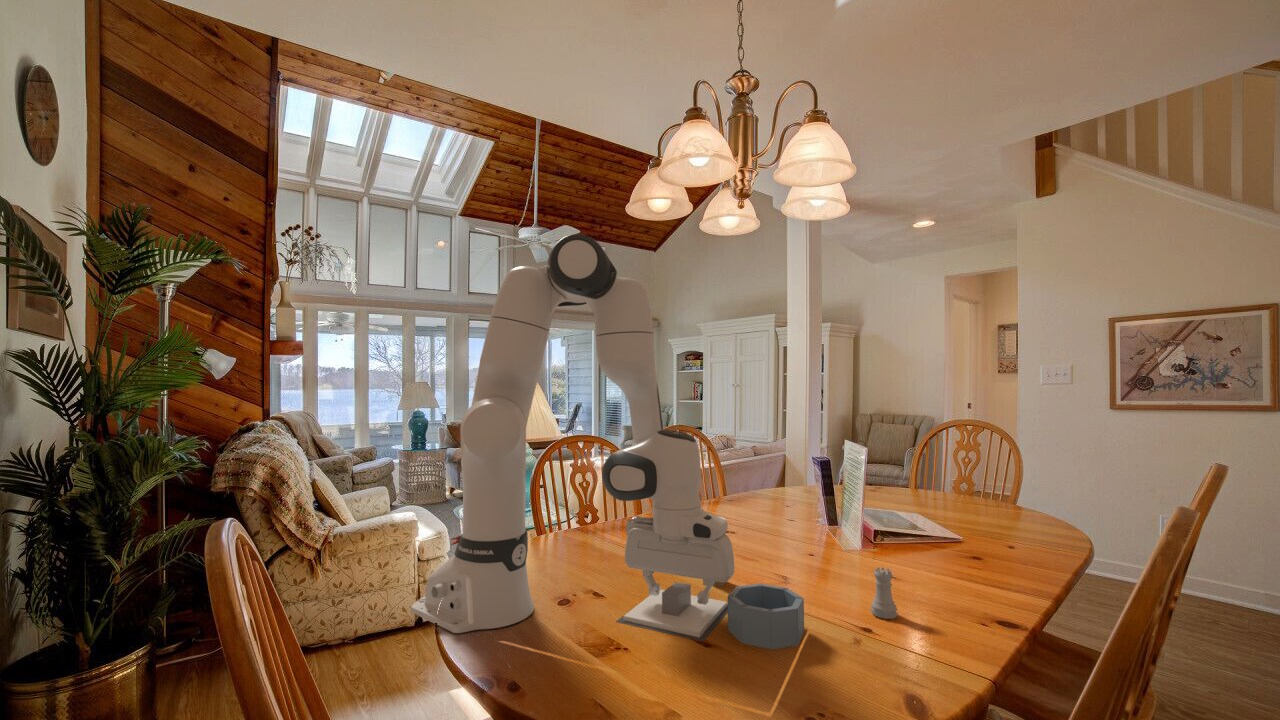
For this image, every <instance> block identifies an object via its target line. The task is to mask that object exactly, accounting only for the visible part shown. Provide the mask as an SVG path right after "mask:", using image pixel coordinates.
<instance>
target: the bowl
mask: <svg viewBox="0 0 1280 720" xmlns="http://www.w3.org/2000/svg"><path fill="white" fill-rule="evenodd" d="M804 600H805V598H804V597H802V596H801V595H799V594H798V593H796V592H794V591H793V590H791V589H789V588H788V587H784V586H783V587H782V586H779V585H773V584H765V583H754V584H746V585H739V586H737V585H736V586H735V588H733V589H732V591H731V592H730V593H729V594H728V595H727V604H728V613H727V631H728V632H729V633H730V634H731V635H732V636H734V637H735V638H736V639H737V640H738V642H740V643H741V644H744V645H749V646H752V647H753V646H754V647H759V648H762V649H766V650H767V649H768V650H771V651H773V650H777V649H783V648H790V647H796V646H799V645H800V642H801V639H802V638H803V637H804V636H803V635H804V634H805V605H804V604H805V601H804Z"/></svg>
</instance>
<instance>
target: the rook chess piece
mask: <svg viewBox="0 0 1280 720" xmlns="http://www.w3.org/2000/svg"><path fill="white" fill-rule="evenodd" d="M884 568H885V567H876V568H875V571H874V572H873V576H874V577H875V579H876V580H875V582H874V584H875V587H876V589H875V596H874V598H873V601H872V602H871V604H870V606H871V609H870V612H871V614H872V615H873V616H874V615H875V616H877V617H876V618H878V617H879V618H878V619H881V618H883V619H882V620H886V619H892V620H894V619H896V618H897V617H898V612H897V611H898V608H897V605H896V604H895V601H894V599H893V595H892V586H893V583H892V582H891V581H892V579H893V578H894V575H893V574H892V570H891V569H889V568H887V567H886V568H885V569H884ZM875 616H874V617H875Z"/></svg>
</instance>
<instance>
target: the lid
mask: <svg viewBox="0 0 1280 720" xmlns="http://www.w3.org/2000/svg"><path fill="white" fill-rule="evenodd" d="M645 598H646V599H645ZM645 598H644V599H645V600H644V599H642V600H641V601H640V602H641V603H640V602H639V603H637V604H636V605H637V606H636V607H635V606H634V607H632V608H631V609H632V610H631V609H630V610H628V611H627V612H628V613H627V612H626V613H627V614H626V613H625V614H623V616H624V621H628V622H632V623H637V624H641V625H646V626H650V627H655V628H659V629H664V630H668V631H673V632H677V633H682V634H686V635H691V636H695V637H700V636H701V635H702V634H703V633H704V632H705V631H706V629H707V628H708V627H709V626H710V625H711V624H712V623H713V621H714V620H715V619H716V618H717V617H718V616H719V615H720V613H721V612H722V611H723V610H724V609H725V608H726V607H727V604H728V601H725V600H718V599H715V598H709V601H708V603H707V604H706V605H704V604H699V603H698V601H697V600H698V598H697V595H693V594H692V584H689V583H684V582H678V581H675V582H674V583H672V584H671V585H670V586H669V587H668V588H666V589H660V593H659V595H657V596H654V595H650V596H649V595H648V596H647V597H645Z"/></svg>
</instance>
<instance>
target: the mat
mask: <svg viewBox="0 0 1280 720" xmlns="http://www.w3.org/2000/svg"><path fill="white" fill-rule="evenodd" d="M648 596H650V595H649V594H648ZM646 598H647V597H645V598H644V599H643V600H645V599H646ZM641 602H642V601H640V602H639V603H641ZM637 605H638V604H636V606H637ZM636 606H634V607H636ZM632 609H633V608H630V610H632ZM628 612H629V611H627V612H626V613H625V614H627V613H628ZM726 615H728V603H727V607H726V608H725V609H724V610H723V611H722V612H721V613H720V615H719V616H718V617H717V618H716V619H715V620H714V621H713V623H712V624H711V625H710V626H709V627H708V628H707V629H706V631H705V632H704V633H703V634H702V635H701V636H700V637H695V636H691V635H686V634H682V633H677V632H673V631H668V630H664V629H659V628H655V627H650V626H646V625H641V624H637V623H632V622H628V621H624V615H622V616H621V617H620V618H619V619H618V620H616V621H615V623H619V624H624V625H628V626H630V627H631V626H632V627H637V628H641V629H645V630H650V631H654V632H657V633H658V632H659V633H662V634H666V635H667V634H668V635H673V636H677V637H681V638H686V639H689V640H694V641H698V642H704V641H705V640H706V639H707V637H708V636H709V635H710V634H711V633H712V632H713V631H714V630H715V628H716V627H717V626H718V625H719V624H720V622H721V621H722V620H723V618H724V617H726Z"/></svg>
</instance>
